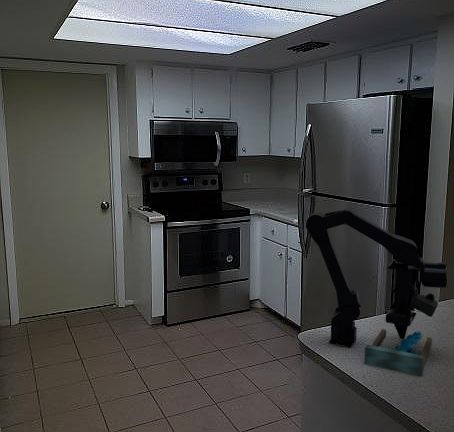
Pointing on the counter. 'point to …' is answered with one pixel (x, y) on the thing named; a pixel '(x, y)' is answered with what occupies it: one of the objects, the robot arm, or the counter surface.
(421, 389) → the counter surface
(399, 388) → the counter surface
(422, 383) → the counter surface
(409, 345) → the blue irregular piece
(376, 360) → the guide channel
